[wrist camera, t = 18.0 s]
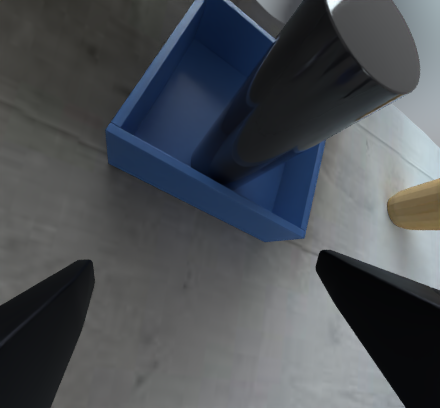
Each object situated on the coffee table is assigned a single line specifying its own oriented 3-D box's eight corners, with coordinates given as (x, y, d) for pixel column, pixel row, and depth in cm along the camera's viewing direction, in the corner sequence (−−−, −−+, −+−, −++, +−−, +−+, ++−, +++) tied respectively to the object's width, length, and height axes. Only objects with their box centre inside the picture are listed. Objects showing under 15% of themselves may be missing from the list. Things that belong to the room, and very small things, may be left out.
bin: (265, 242, 21) (304, 238, 17) (107, 163, 17) (104, 129, 13) (300, 118, 27) (336, 91, 23) (189, 35, 23) (207, -19, 18)
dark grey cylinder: (252, 174, 22) (433, 66, 9) (216, 206, 19) (393, 117, 7) (219, 131, 21) (365, -46, 9) (178, 158, 19) (296, -30, 6)
